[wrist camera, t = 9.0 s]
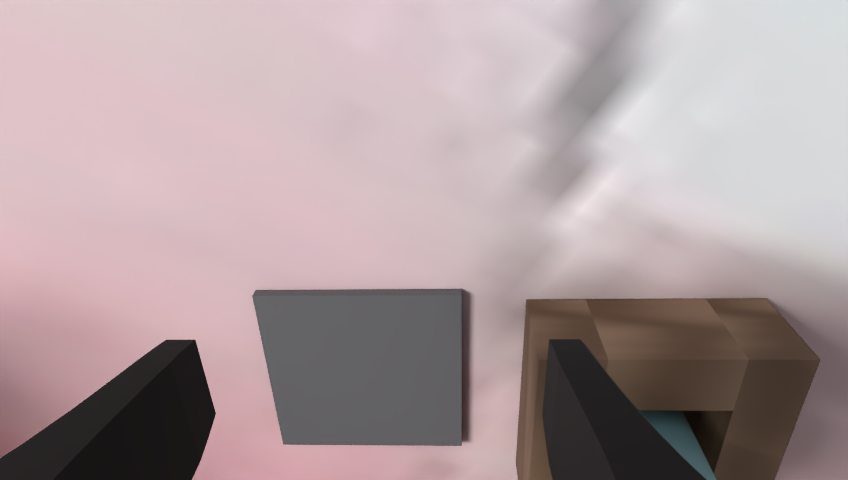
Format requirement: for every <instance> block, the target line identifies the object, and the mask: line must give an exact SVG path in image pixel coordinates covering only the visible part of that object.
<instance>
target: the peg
mask: <svg viewBox="0 0 848 480" xmlns="http://www.w3.org/2000/svg"><path fill="white" fill-rule="evenodd" d="M639 411H640V412H641V413H642V415H643V416H644V417H645V418H646V419H647V420H648V421H649V422H650V423H651V425H652V426H653V427H654V428H655V429H656V430H657V431H658V432H659V433H660V434H661V435H662V436H663V437H664V438H665V439H666V440H667V441H668V442H669V443H670V445H671V446H672V447H673V448H674V449H675V450H676V451H677V452H678V453H679V454H680V455H681V456H682V457H683V458H684V459H685V460H686V461H687V462H688V463H690V464H691V465H692V466H693V467H694V468H695V469H696V470H697V471H698V472H699V473H700V474H701V475H702V476H703V477H704V478H705V479H707V480H716V478H715V476H714V474H713V472H712V470H711V468H710V465H709V463H708V461H707V459H706V457H705V455H704V453H703V451H702V449H701V447H700V445H699V443H698V441H697V439H696V437H695V435H694V433H693V431H692V429H691V427H690V425H689V423H688V421H687V419H686V417H685V415H684V413H683V411H674V410H639Z"/></svg>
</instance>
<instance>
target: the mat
mask: <svg viewBox="0 0 848 480" xmlns="http://www.w3.org/2000/svg"><path fill="white" fill-rule="evenodd" d="M253 301H254V306H255V310H256V315H257V320H258V325H259V330H260V334H261V339H262V344H263V349H264V354H265V358H266V363H267V368H268V373H269V377H270V382H271V387H272V392H273V397H274V401H275V406H276V411H277V416H278V421H279V425H280V430H281V435H282V440H283V444H291V445H432V446H462V292H461V289H409V290H256V291H255V293H254V294H253Z"/></svg>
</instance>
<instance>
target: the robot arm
mask: <svg viewBox="0 0 848 480" xmlns="http://www.w3.org/2000/svg"><path fill="white" fill-rule="evenodd" d="M215 414H216V413H215V409H214V406H213V402H212V399H211V395H210V391H209V388H208V384H207V381H206V377H205V373H204V370H203V366H202V363H201V359H200V355H199V352H198V348H197V345H196V341H195V340H165V341H164V342H163V343H161V344H160V345H158V346H157V347H155V348H154V349H152V350H151V351H150V352H148V353H147V354H145V355H144V356H143V357H141V358H140V359H139V360H137V361H136V362H135V363H133V364H132V365H131V366H129V367H128V368H127V369H126V370H124V371H123V372H122V373H120V374H119V375H118V376H116V377H115V378H114V379H112V380H111V381H110V382H108V383H107V384H106V385H104V386H103V387H102V388H100V389H99V390H98V391H96V392H95V393H94V394H92V395H91V396H90V397H88V398H87V399H86V400H84V401H83V402H82V403H80V404H79V405H78V406H76V407H75V408H73V409H72V410H71V411H69V412H68V413H66V414H65V415H63V416H62V417H61V418H59V419H58V420H56V421H55V422H53V423H52V424H50V425H49V426H48V427H46V428H45V429H43V430H42V431H40V432H39V433H38V434H36V435H35V436H33V437H32V438H30V439H29V440H28V441H26V442H25V443H23V444H22V445H20V446H19V447H17V448H16V449H14V450H13V451H11V452H10V453H8V454H6V455H5V456H3V457H2V458H0V480H192V478H193V476H194V474H195V471H196V469H197V467H198V465H199V463H200V460H201V458H202V455H203V452H204V449H205V446H206V443H207V440H208V437H209V434H210V431H211V427H212V424H213V421H214V418H215ZM542 418H543V425H544V433H545V441H546V448H547V455H548V462H549V466H550V470H551V475H552V479H553V480H707V479H705V478H704V477H703V476H702V475H701V474H700V473H699V472H698V471H697V470H696V469H695V468H694V467H693V466H692V465H691V464H690V463H688V462H687V461H686V460H685V459H684V458H683V457H682V456H681V455H680V454H679V453H678V452H677V451H676V450H675V449H674V448H673V447H672V446H671V445H670V443H669V442H668V441H667V440H666V439H665V438H664V437H663V436H662V435H661V434H660V433H659V432H658V431H657V430H656V429H655V428H654V427H653V426H652V425H651V423H650V422H649V421H648V420H647V419H646V418H645V417H644V416H643V415H642V413H641V412H640V411H639V410H638V409H637V408H636V407H635V405H634V404H633V403H632V402H631V401H630V400H629V399H628V398H627V396H626V395H625V394H624V393H623V392H622V390H621V389H620V388H619V387H618V386H617V384H616V383H615V382H614V381H613V379H612V378H611V377H610V376H609V374H608V373H607V372H606V371H605V369H604V368H603V367H602V366H601V364H600V363H599V362H598V360H597V359H596V358H595V357H594V355H593V354H592V353H591V351H590V350H589V349H588V347H587V346H586V345H585V344H584V343H583V342H582V341H581V340H580V339H549V346H548V357H547V368H546V379H545V390H544V401H543V412H542Z"/></svg>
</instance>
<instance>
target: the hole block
mask: <svg viewBox="0 0 848 480" xmlns="http://www.w3.org/2000/svg"><path fill="white" fill-rule="evenodd" d="M549 339H580V340H581V341H582V342H583V343H584V344H585V345H586V346H587V347H588V349H589V350H590V351H591V353H592V354H593V355H594V357H595V358H596V359H597V360H598V362H599V363H600V364H601V366H602V367H603V368H604V369H605V371H606V372H607V373H608V374H609V376H610V377H611V378H612V379H613V381H614V382H615V383H616V384H617V386H618V387H619V388H620V389H621V390H622V392H623V393H624V394H625V395H626V396H627V398H628V399H629V400H630V401H631V402H632V403H633V404H634V405H635V407H636V408H637V409H638V410H674V411H683V413H684V415H685V417H686V419H687V421H688V423H689V425H690V427H691V429H692V431H693V433H694V435H695V437H696V439H697V441H698V443H699V445H700V447H701V449H702V451H703V453H704V455H705V457H706V459H707V461H708V463H709V465H710V468H711V470H712V472H713V474H714V476H715V478H716V480H774V479H775V477H776V474H777V472H778V469H779V466H780V464H781V461H782V458H783V456H784V453H785V451H786V448H787V445H788V443H789V440H790V438H791V435H792V432H793V430H794V427H795V424H796V422H797V419H798V417H799V414H800V411H801V409H802V406H803V404H804V401H805V398H806V396H807V393H808V390H809V388H810V385H811V383H812V380H813V377H814V375H815V372H816V370H817V367H818V364H819V362H820V359H819V358H818V356H817V355H816V354H815V353H814V352H813V351H812V350H811V348H810V347H809V346H808V345H807V344H806V343H805V342H804V340H803V339H802V338H801V337H800V336H799V335H798V334H797V332H796V331H795V330H794V329H793V328H792V327H791V326H790V324H789V323H788V322H787V321H786V320H785V319H784V318H783V316H782V315H781V314H780V313H779V312H778V311H777V310H776V309H775V307H774V306H773V305H772V304H771V303H770V302H769V301H768V299H767V298H764V299H567V300H526V315H525V330H524V345H523V361H522V376H521V392H520V407H519V422H518V438H517V453H516V467H517V475H518V480H553V479H552V475H551V470H550V466H549V462H548V455H547V448H546V441H545V433H544V425H543V418H542V412H543V401H544V390H545V379H546V368H547V357H548V346H549Z"/></svg>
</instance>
